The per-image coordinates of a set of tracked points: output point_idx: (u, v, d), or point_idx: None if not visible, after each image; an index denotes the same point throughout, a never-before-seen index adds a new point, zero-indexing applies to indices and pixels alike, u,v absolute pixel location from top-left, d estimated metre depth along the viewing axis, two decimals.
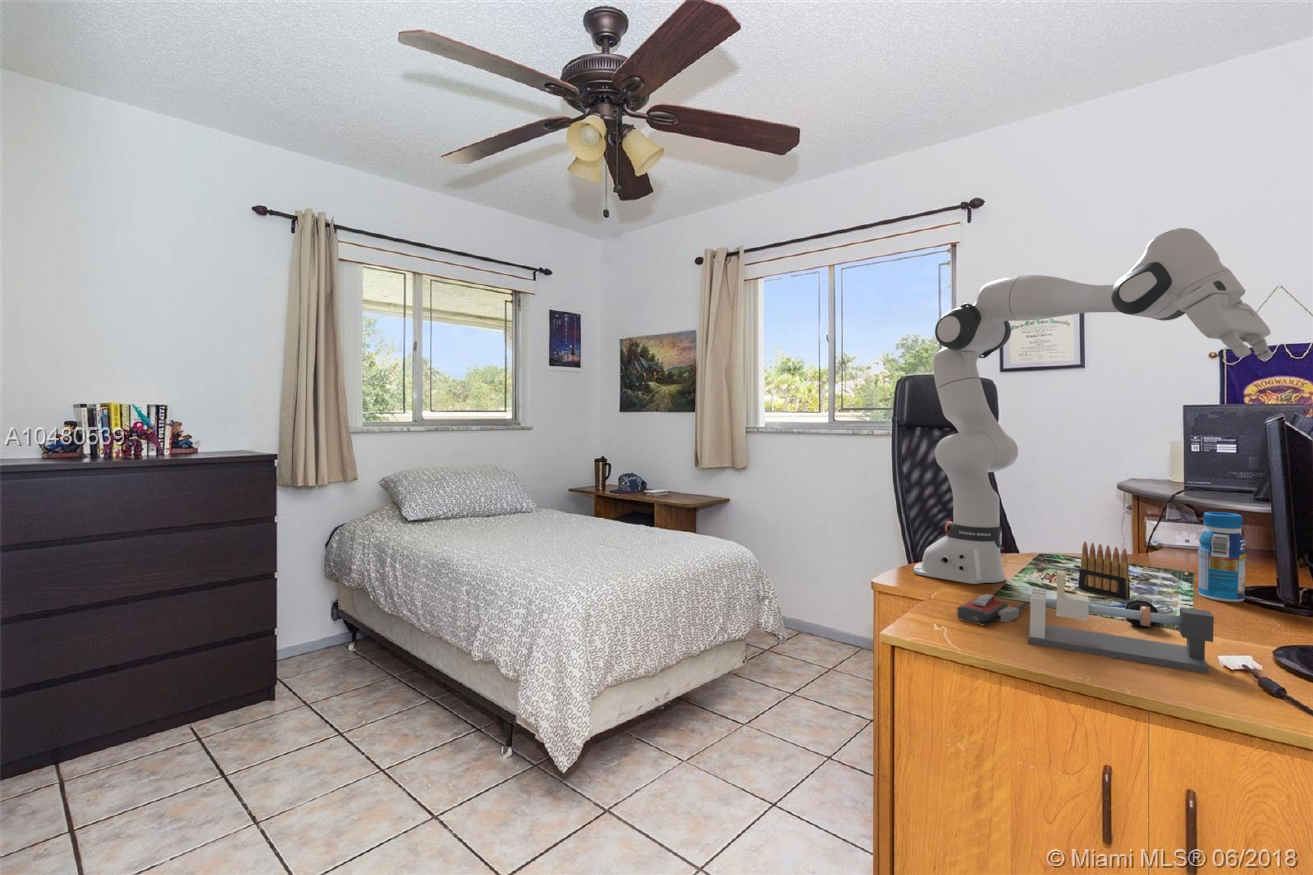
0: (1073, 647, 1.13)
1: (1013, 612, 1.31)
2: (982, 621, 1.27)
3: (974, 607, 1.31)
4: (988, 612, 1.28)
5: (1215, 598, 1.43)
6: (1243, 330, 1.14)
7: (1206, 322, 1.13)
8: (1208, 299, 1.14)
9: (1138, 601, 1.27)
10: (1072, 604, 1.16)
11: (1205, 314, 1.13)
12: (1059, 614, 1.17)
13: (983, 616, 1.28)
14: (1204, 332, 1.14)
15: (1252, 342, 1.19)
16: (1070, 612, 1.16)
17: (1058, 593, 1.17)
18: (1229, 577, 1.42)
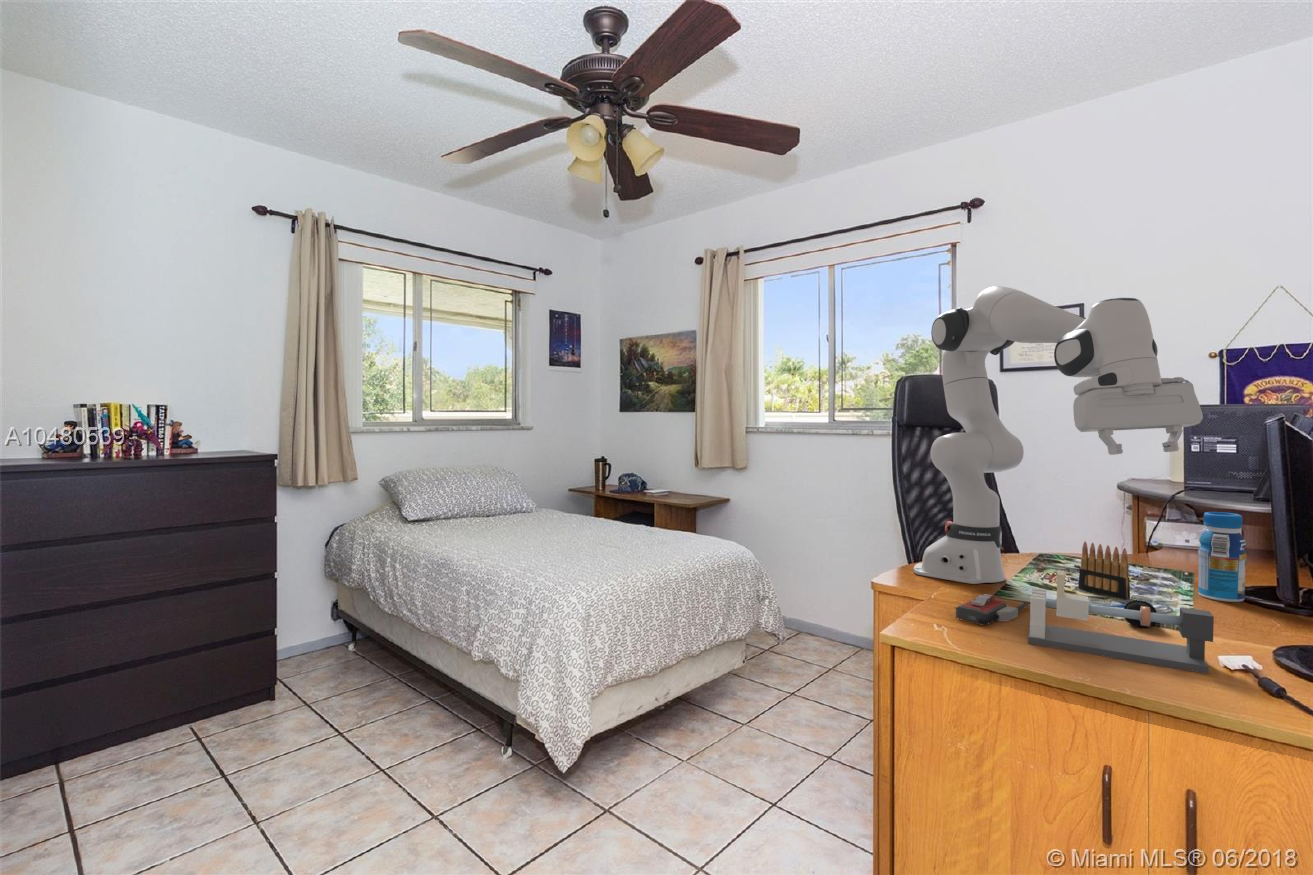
0: (1073, 647, 1.13)
1: (1012, 612, 1.31)
2: (980, 621, 1.27)
3: (972, 607, 1.31)
4: (986, 612, 1.29)
5: (1215, 598, 1.43)
6: (1127, 427, 1.12)
7: (1078, 417, 1.15)
8: (1086, 394, 1.14)
9: (1137, 601, 1.27)
10: (1072, 604, 1.16)
11: (1079, 409, 1.15)
12: (1059, 614, 1.17)
13: (981, 616, 1.28)
14: None
15: (1168, 431, 1.13)
16: (1070, 612, 1.16)
17: (1058, 593, 1.17)
18: (1229, 577, 1.42)
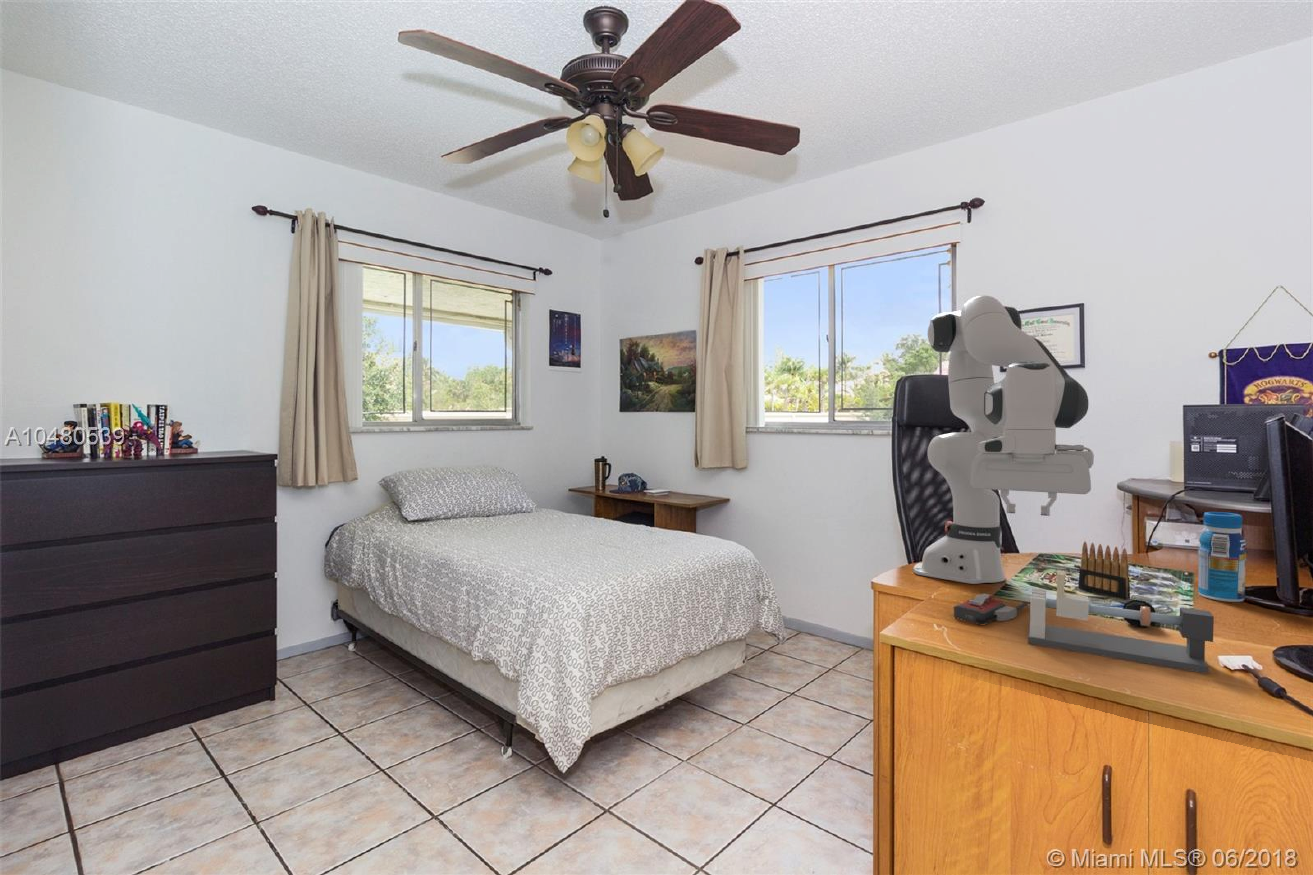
0: (1073, 647, 1.13)
1: (1010, 612, 1.31)
2: (977, 620, 1.27)
3: (970, 606, 1.31)
4: (984, 611, 1.29)
5: (1215, 598, 1.43)
6: None
7: None
8: (976, 456, 1.24)
9: (1136, 601, 1.27)
10: (1072, 604, 1.16)
11: None
12: (1059, 614, 1.17)
13: (979, 615, 1.28)
14: None
15: None
16: (1070, 612, 1.16)
17: (1058, 593, 1.17)
18: (1229, 577, 1.42)
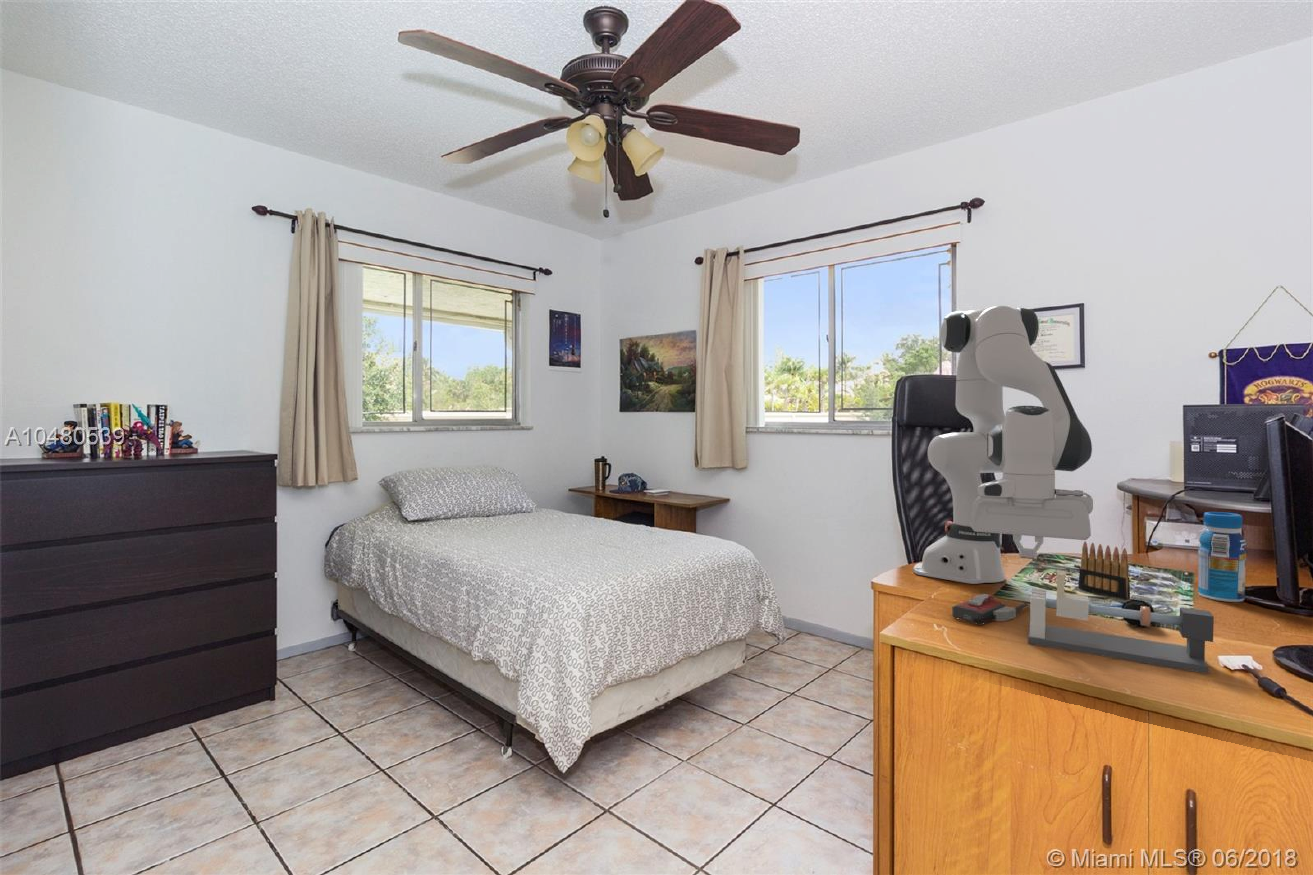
0: (1073, 647, 1.13)
1: (1009, 612, 1.31)
2: (975, 620, 1.28)
3: (969, 606, 1.31)
4: (982, 611, 1.29)
5: (1215, 598, 1.43)
6: None
7: None
8: (976, 499, 1.24)
9: (1134, 600, 1.27)
10: (1072, 604, 1.16)
11: None
12: (1059, 614, 1.17)
13: (977, 615, 1.28)
14: None
15: None
16: (1070, 612, 1.16)
17: (1058, 593, 1.17)
18: (1229, 577, 1.42)
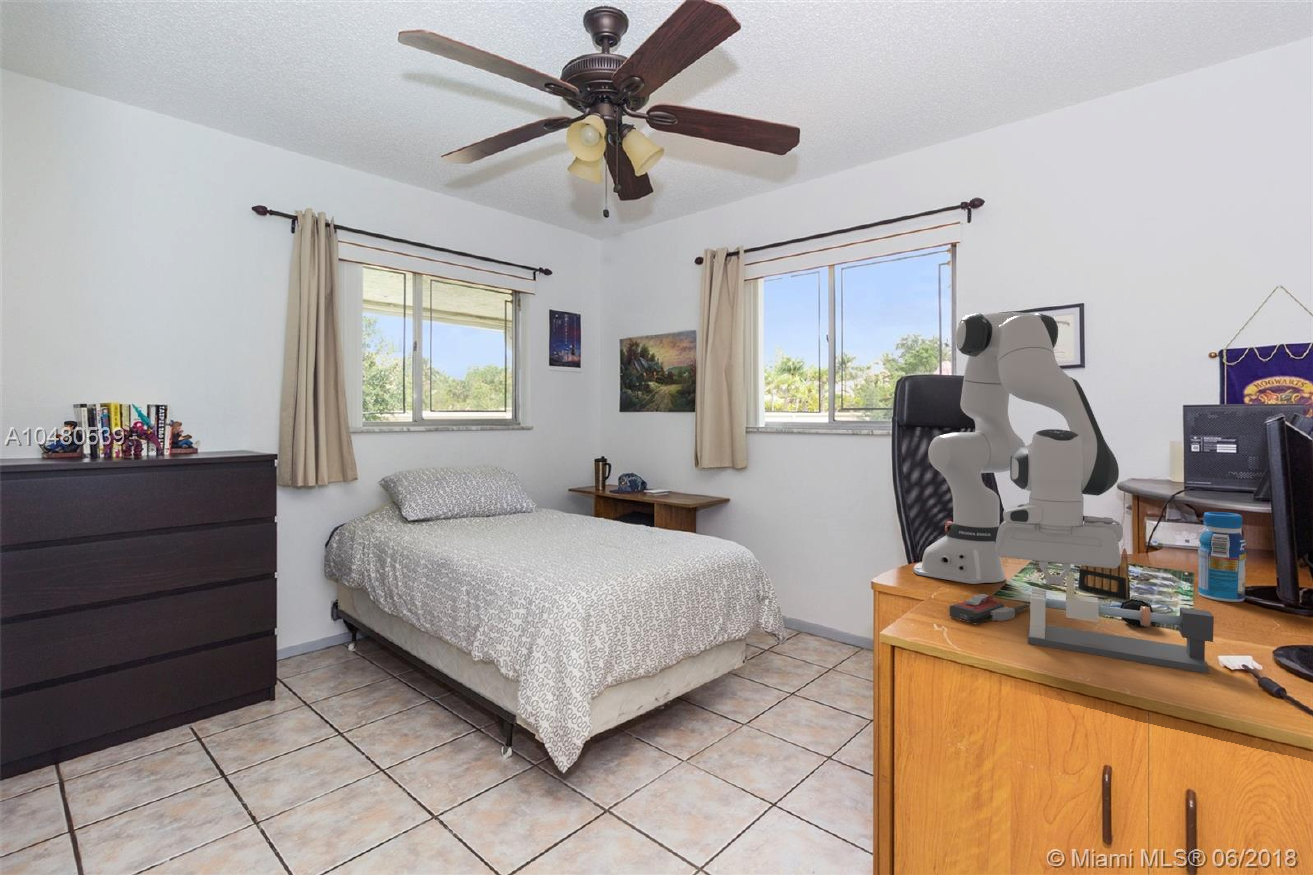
0: (1073, 647, 1.13)
1: (1007, 612, 1.31)
2: (971, 620, 1.28)
3: (966, 606, 1.32)
4: (978, 611, 1.29)
5: (1215, 598, 1.43)
6: (1037, 560, 1.19)
7: None
8: (1001, 524, 1.22)
9: (1133, 600, 1.27)
10: (1082, 605, 1.15)
11: None
12: (1069, 615, 1.16)
13: (972, 614, 1.29)
14: None
15: None
16: (1080, 613, 1.15)
17: (1068, 594, 1.16)
18: (1229, 577, 1.42)
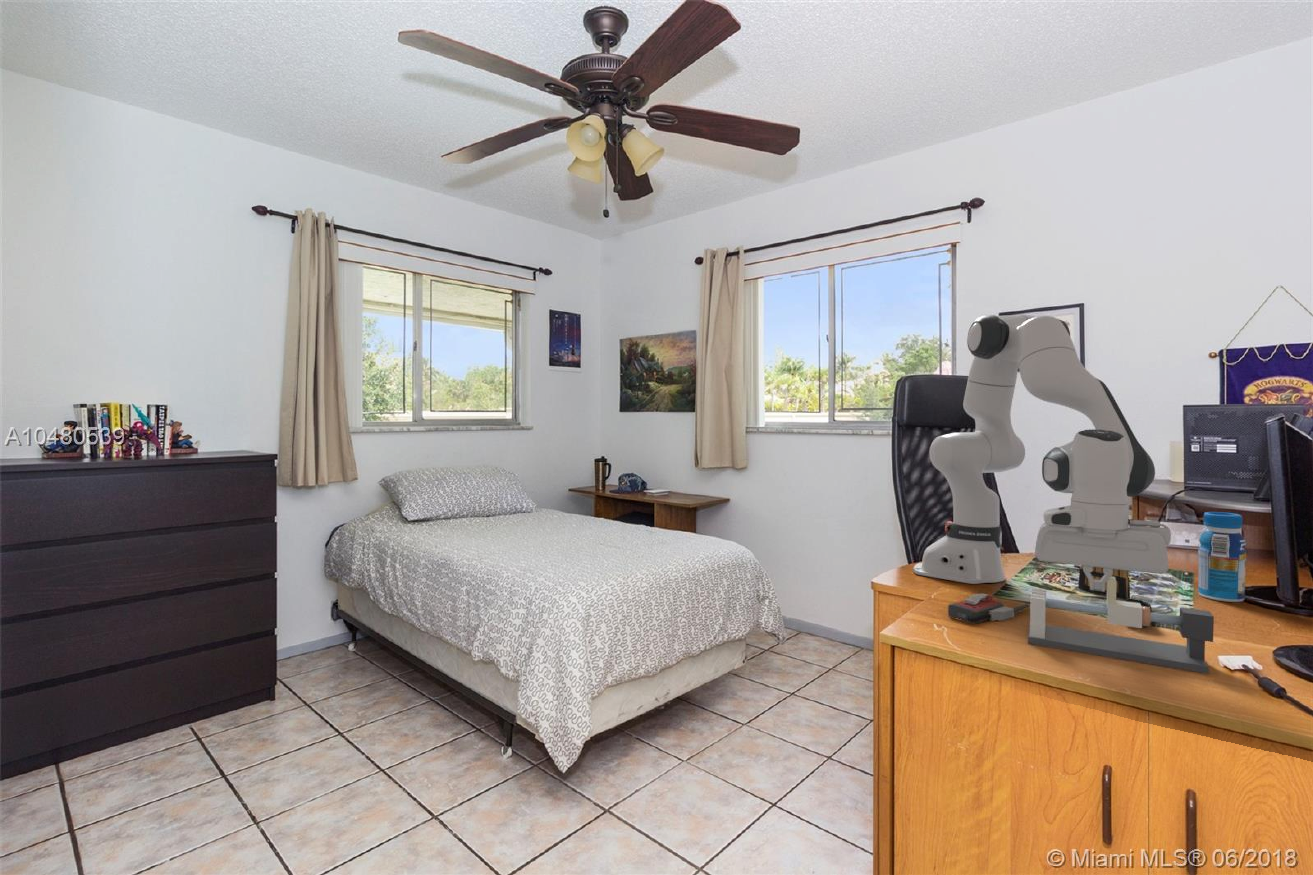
0: (1073, 647, 1.13)
1: (1006, 612, 1.31)
2: (968, 619, 1.28)
3: (964, 605, 1.32)
4: (976, 610, 1.29)
5: (1215, 598, 1.43)
6: None
7: None
8: (1041, 527, 1.18)
9: (1132, 600, 1.27)
10: (1124, 611, 1.12)
11: None
12: (1110, 621, 1.13)
13: (970, 614, 1.29)
14: None
15: None
16: (1122, 619, 1.12)
17: (1109, 600, 1.13)
18: (1229, 577, 1.42)
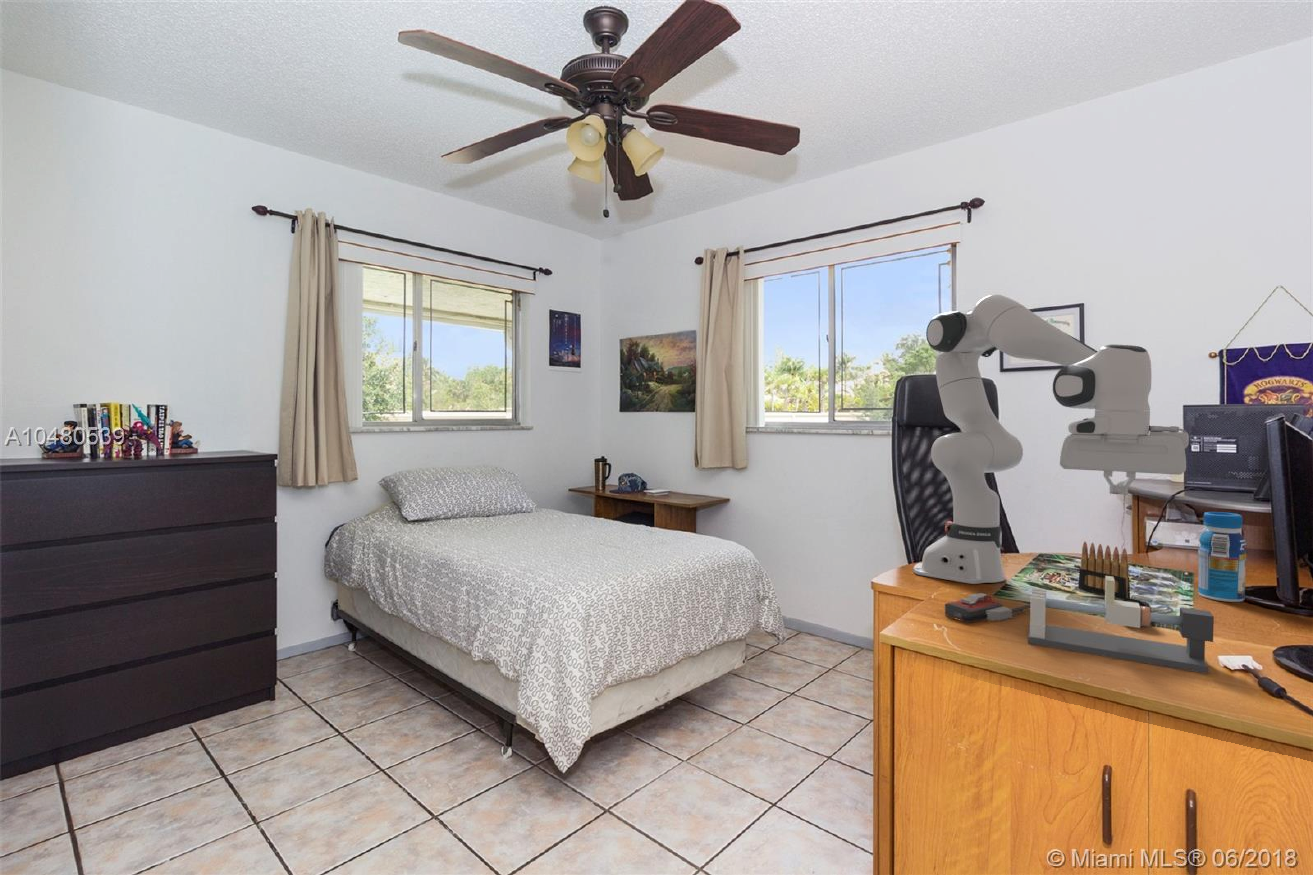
0: (1073, 647, 1.13)
1: (1003, 612, 1.31)
2: (963, 618, 1.29)
3: (960, 604, 1.33)
4: (972, 610, 1.30)
5: (1215, 598, 1.43)
6: (1102, 470, 1.24)
7: None
8: (1066, 437, 1.27)
9: (1130, 599, 1.28)
10: (1123, 611, 1.12)
11: None
12: (1109, 621, 1.13)
13: (965, 613, 1.30)
14: None
15: (1126, 475, 1.23)
16: (1120, 619, 1.12)
17: (1108, 599, 1.13)
18: (1229, 577, 1.42)
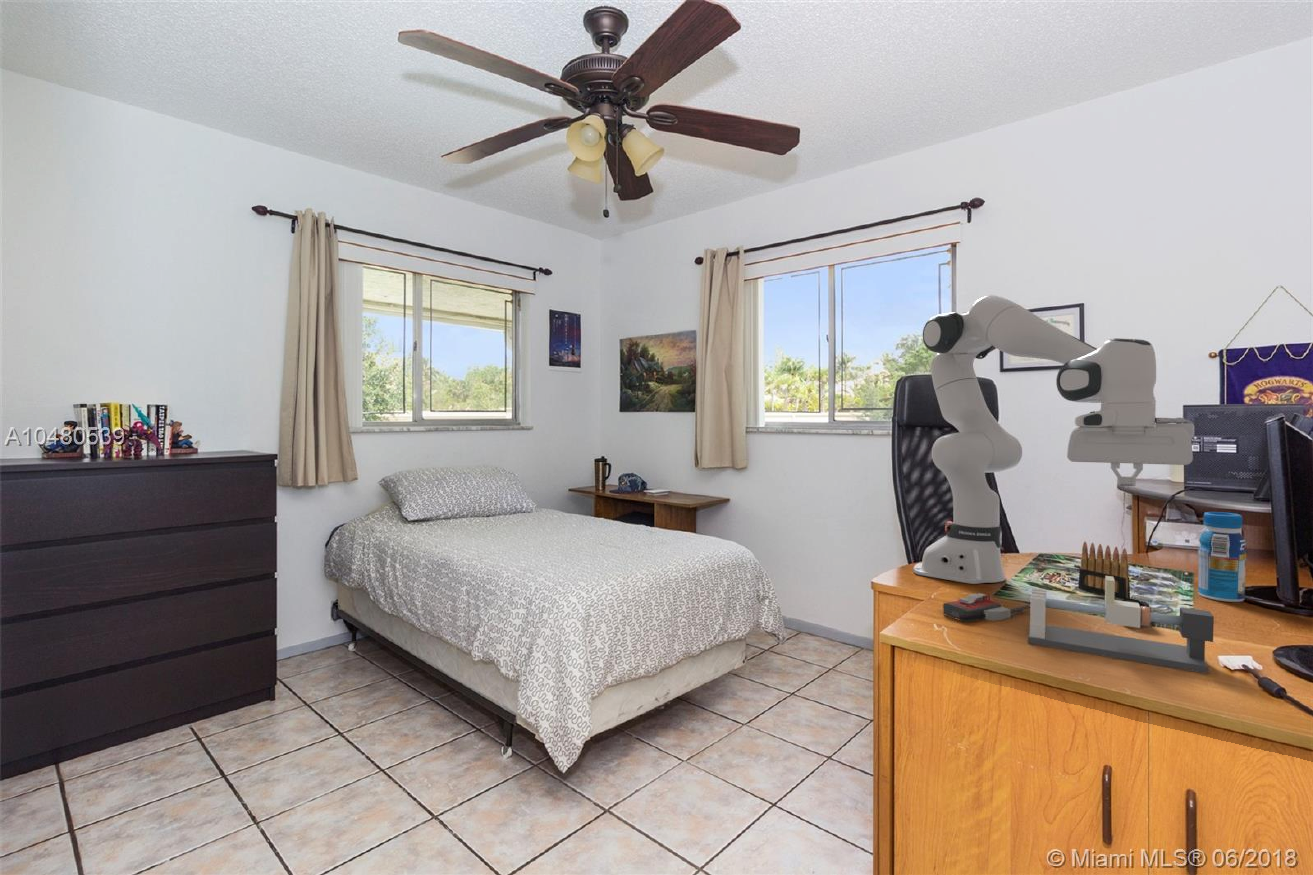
0: (1073, 647, 1.13)
1: (1001, 612, 1.31)
2: (960, 617, 1.29)
3: (958, 604, 1.33)
4: (969, 609, 1.30)
5: (1215, 598, 1.43)
6: (1110, 462, 1.25)
7: None
8: (1073, 430, 1.28)
9: (1129, 599, 1.28)
10: (1123, 611, 1.12)
11: None
12: (1109, 621, 1.13)
13: (963, 612, 1.30)
14: None
15: (1133, 466, 1.25)
16: (1120, 619, 1.12)
17: (1108, 599, 1.13)
18: (1229, 577, 1.42)
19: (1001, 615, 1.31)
